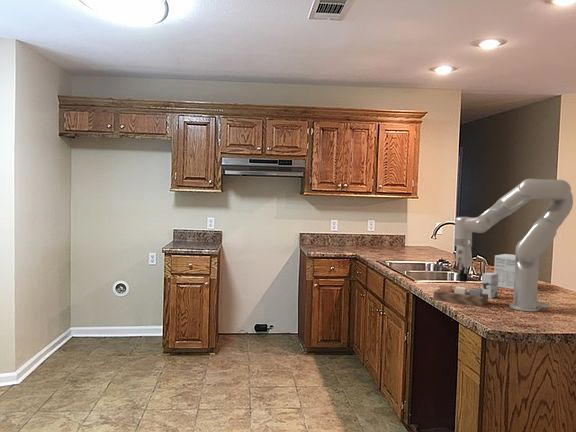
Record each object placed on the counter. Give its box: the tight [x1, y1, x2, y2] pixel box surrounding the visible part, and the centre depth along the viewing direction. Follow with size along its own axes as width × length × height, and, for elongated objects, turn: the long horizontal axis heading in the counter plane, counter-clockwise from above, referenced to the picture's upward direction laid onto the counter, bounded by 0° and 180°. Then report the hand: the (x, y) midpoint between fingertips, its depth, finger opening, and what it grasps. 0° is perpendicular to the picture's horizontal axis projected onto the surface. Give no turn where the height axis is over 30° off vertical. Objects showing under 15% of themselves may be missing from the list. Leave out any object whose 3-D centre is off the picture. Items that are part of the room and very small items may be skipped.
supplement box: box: [493, 253, 516, 290], centre depth 271 cm, size 13×13×18 cm
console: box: [432, 288, 489, 308], centre depth 231 cm, size 22×12×4 cm, turn 54°
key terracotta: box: [439, 283, 454, 292], centre depth 235 cm, size 5×5×4 cm
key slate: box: [469, 287, 483, 297], centre depth 226 cm, size 5×5×4 cm
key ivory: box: [454, 286, 468, 295], centre depth 231 cm, size 5×5×4 cm
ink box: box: [481, 272, 499, 299], centre depth 243 cm, size 8×5×12 cm, turn 134°
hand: (463, 281), depth 230 cm, fingers closed
